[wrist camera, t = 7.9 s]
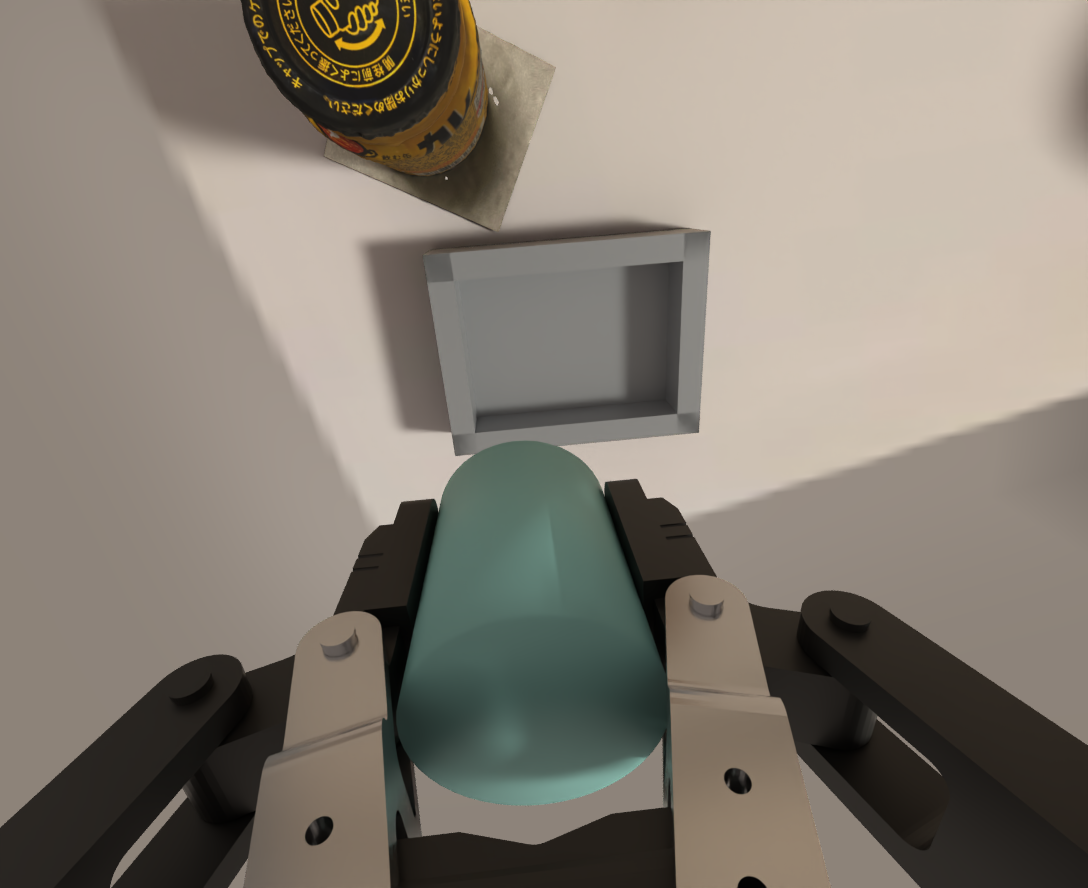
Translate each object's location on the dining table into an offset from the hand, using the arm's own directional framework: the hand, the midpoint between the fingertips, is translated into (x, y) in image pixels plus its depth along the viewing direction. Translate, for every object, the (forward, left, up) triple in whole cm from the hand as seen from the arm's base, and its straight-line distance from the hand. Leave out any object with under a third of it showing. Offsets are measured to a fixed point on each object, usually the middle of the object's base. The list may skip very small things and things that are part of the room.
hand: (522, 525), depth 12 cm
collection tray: (0, +3, -18) cm, 18 cm away
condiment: (-11, -2, -18) cm, 21 cm away
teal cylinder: (0, 0, 0) cm, 0 cm away
